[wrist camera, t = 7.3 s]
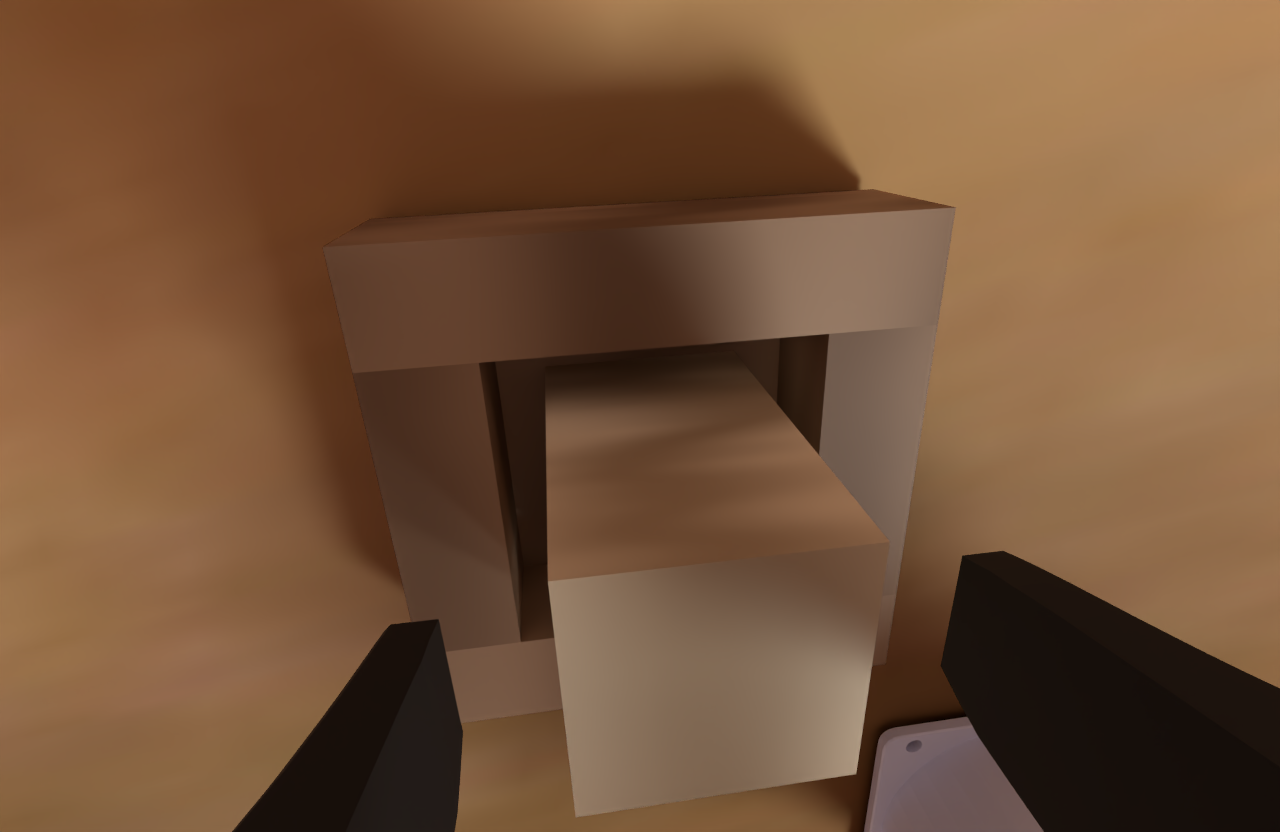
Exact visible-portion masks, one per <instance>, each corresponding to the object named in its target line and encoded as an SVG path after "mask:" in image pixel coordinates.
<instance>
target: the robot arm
mask: <svg viewBox="0 0 1280 832" xmlns="http://www.w3.org/2000/svg"><path fill="white" fill-rule="evenodd" d="M941 667H942V669H943V671H944V673H945V675H946V677H947V679H948V681H949V683H950V685H951V687H952V689H953V691H954V693H955V695H956V697H957V699H958V701H959V703H960V705H961V706H962V708H963V710H964V712H965V714H966V715H967V717H961V718H955V719H948V720H941V721H935V722H928V723H921V724H915V725H908V726H901V727H894V728H891V729H888V730H887V731H885V732H884V733H883V734H882V735H881V736H880V738H879V741H878V746H877V752H876V758H875V765H874V771H873V777H872V784H871V790H870V796H869V803H868V809H867V816H866V822H865V828H864V832H1280V688H1278V687H1275V686H1273V685H1271V684H1269V683H1267V682H1265V681H1263V680H1261V679H1258V678H1256V677H1254V676H1252V675H1250V674H1248V673H1246V672H1244V671H1241V670H1239V669H1237V668H1235V667H1233V666H1231V665H1229V664H1227V663H1225V662H1223V661H1221V660H1219V659H1217V658H1215V657H1213V656H1211V655H1209V654H1207V653H1205V652H1203V651H1201V650H1199V649H1197V648H1195V647H1193V646H1191V645H1189V644H1187V643H1185V642H1183V641H1181V640H1179V639H1177V638H1175V637H1173V636H1171V635H1169V634H1167V633H1165V632H1163V631H1161V630H1160V629H1158V628H1156V627H1154V626H1152V625H1150V624H1148V623H1146V622H1144V621H1142V620H1140V619H1138V618H1136V617H1134V616H1132V615H1130V614H1129V613H1127V612H1125V611H1123V610H1121V609H1119V608H1117V607H1115V606H1113V605H1111V604H1109V603H1107V602H1105V601H1104V600H1102V599H1100V598H1098V597H1096V596H1094V595H1092V594H1090V593H1088V592H1086V591H1084V590H1082V589H1080V588H1079V587H1077V586H1075V585H1073V584H1071V583H1069V582H1067V581H1065V580H1063V579H1061V578H1059V577H1057V576H1055V575H1053V574H1051V573H1049V572H1047V571H1045V570H1043V569H1041V568H1039V567H1037V566H1035V565H1033V564H1031V563H1029V562H1027V561H1025V560H1023V559H1020V558H1018V557H1016V556H1014V555H1011V554H1009V553H1007V552H1005V551H998V552H990V553H981V554H973V555H965V556H962V561H961V566H960V571H959V576H958V581H957V586H956V591H955V596H954V601H953V606H952V611H951V617H950V622H949V627H948V632H947V637H946V642H945V647H944V652H943V657H942V662H941ZM462 738H463V730H462V726H461V721H460V716H459V712H458V707H457V702H456V698H455V693H454V688H453V684H452V679H451V674H450V669H449V665H448V660H447V655H446V651H445V646H444V641H443V637H442V632H441V627H440V623H439V619H433V620H425V621H417V622H409V623H400V624H392V625H390V626H389V627H388V628H387V629H386V630H385V631H384V632H383V634H382V635H381V636H380V638H379V639H378V641H377V642H376V643H375V645H374V646H373V648H372V649H371V650H370V652H369V653H368V655H367V656H366V658H365V659H364V660H363V662H362V663H361V665H360V666H359V667H358V669H357V670H356V672H355V673H354V675H353V676H352V677H351V679H350V680H349V682H348V683H347V684H346V686H345V687H344V689H343V690H342V691H341V693H340V694H339V695H338V697H337V698H336V700H335V701H334V702H333V704H332V705H331V706H330V708H329V709H328V710H327V712H326V713H325V715H324V716H323V717H322V719H321V720H320V721H319V723H318V724H317V725H316V727H315V728H314V729H313V731H312V732H311V733H310V734H309V736H308V737H307V738H306V740H305V741H304V742H303V744H302V745H301V746H300V748H299V749H298V750H297V751H296V753H295V754H294V755H293V757H292V758H291V759H290V761H289V762H288V763H287V765H286V766H285V767H284V769H283V770H282V771H281V772H280V774H279V775H278V776H277V778H276V779H275V780H274V781H273V783H272V784H271V785H270V786H269V788H268V789H267V790H266V791H265V793H264V794H263V795H262V796H261V798H260V799H259V800H258V801H257V802H256V804H255V805H254V806H253V807H252V808H251V810H250V811H249V812H248V813H247V814H246V816H245V817H244V818H243V819H242V821H241V822H240V823H239V824H238V825H237V827H236V828H235V829H234V830H233V831H232V832H454V831H455V825H456V819H457V812H458V799H459V785H460V771H461V755H462Z"/></svg>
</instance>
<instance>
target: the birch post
mask: <svg viewBox="0 0 1280 832" xmlns="http://www.w3.org/2000/svg"><path fill="white" fill-rule="evenodd" d="M545 407H546V481H547V554H548V587H549V595H550V604H551V612H552V621H553V629H554V637H555V646H556V654H557V663H558V671H559V679H560V688H561V696H562V705H563V713H564V721H565V730H566V738H567V747H568V755H569V763H570V772H571V780H572V789H573V797H574V806H575V814H576V817H582V816H588V815H595V814H601V813H608V812H614V811H621V810H627V809H633V808H640V807H646V806H653V805H659V804H666V803H672V802H679V801H685V800H692V799H698V798H705V797H711V796H717V795H724V794H730V793H737V792H743V791H750V790H756V789H763V788H769V787H776V786H782V785H789V784H795V783H801V782H808V781H814V780H821V779H827V778H834V777H840V776H847V775H853V774H856V772H857V765H858V758H859V752H860V745H861V738H862V731H863V724H864V717H865V710H866V703H867V697H868V690H869V683H870V676H871V669H872V662H873V655H874V648H875V642H876V635H877V628H878V621H879V614H880V607H881V600H882V593H883V587H884V580H885V573H886V566H887V559H888V552H889V545H890V541H889V540H888V539H887V538H886V536H885V535H884V534H883V533H882V532H881V530H880V529H879V528H878V527H877V525H876V524H875V523H874V522H873V521H872V519H871V518H870V517H869V516H868V514H867V513H866V512H865V511H864V510H863V508H862V507H861V506H860V505H859V503H858V502H857V501H856V500H855V499H854V497H853V496H852V495H851V494H850V492H849V491H848V490H847V489H846V488H845V486H844V485H843V484H842V483H841V481H840V480H839V479H838V478H837V477H836V475H835V474H834V473H833V472H832V471H831V469H830V468H829V467H828V466H827V464H826V463H825V462H824V461H823V460H822V458H821V457H820V456H819V455H818V453H817V452H816V451H815V450H814V449H813V447H812V446H811V445H810V444H809V442H808V441H807V440H806V439H805V438H804V436H803V435H802V434H801V433H800V431H799V430H798V429H797V428H796V427H795V425H794V424H793V423H792V422H791V420H790V419H789V418H788V417H787V416H786V414H785V413H784V412H783V411H782V410H781V408H780V407H779V406H778V405H777V403H776V402H775V401H774V400H773V399H772V397H771V396H770V395H769V394H768V392H767V391H766V390H765V389H764V388H763V386H762V385H761V384H760V383H759V381H758V380H757V379H756V378H755V377H754V375H753V374H752V373H751V372H750V370H749V369H748V368H747V367H746V366H745V364H744V363H743V362H742V361H741V359H740V358H739V357H738V356H737V355H736V353H735V352H734V351H729V352H717V353H704V354H692V355H680V356H667V357H655V358H643V359H631V360H618V361H606V362H594V363H581V364H569V365H557V366H545Z"/></svg>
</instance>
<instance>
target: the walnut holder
mask: <svg viewBox="0 0 1280 832" xmlns="http://www.w3.org/2000/svg"><path fill="white" fill-rule="evenodd" d="M955 208H956V207H951V206H947V205H942V204H938V203H933V202H928V201H924V200H919V199H915V198H910V197H906V196H901V195H897V194H892V193H887V192H883V191H878V190H874V189H870V190H853V191H836V192H820V193H803V194H786V195H769V196H752V197H735V198H718V199H701V200H684V201H667V202H650V203H633V204H616V205H599V206H582V207H565V208H548V209H531V210H514V211H497V212H480V213H463V214H446V215H429V216H412V217H395V218H378V219H369V220H367V221H366V222H364V223H362V224H361V225H359V226H357V227H356V228H354V229H352V230H351V231H349V232H347V233H346V234H344V235H342V236H341V237H339V238H337V239H335V240H334V241H332V242H330V243H329V244H327V245H325V246H324V247H323V251H324V256H325V260H326V264H327V268H328V272H329V277H330V281H331V285H332V289H333V293H334V298H335V302H336V306H337V310H338V315H339V319H340V323H341V327H342V331H343V336H344V340H345V344H346V348H347V352H348V357H349V361H350V365H351V369H352V373H353V378H354V382H355V386H356V390H357V395H358V399H359V403H360V407H361V411H362V416H363V420H364V424H365V428H366V432H367V437H368V441H369V445H370V449H371V454H372V458H373V462H374V466H375V470H376V475H377V479H378V483H379V487H380V491H381V496H382V500H383V504H384V508H385V512H386V517H387V521H388V525H389V529H390V534H391V538H392V542H393V546H394V550H395V555H396V559H397V563H398V567H399V571H400V576H401V580H402V584H403V588H404V593H405V597H406V601H407V605H408V609H409V614H410V618H411V622H417V621H425V620H433V619H439V623H440V627H441V632H442V637H443V641H444V646H445V651H446V655H447V660H448V665H449V669H450V674H451V679H452V684H453V688H454V693H455V698H456V702H457V707H458V712H459V716H460V721H461V723H466V722H473V721H481V720H488V719H495V718H502V717H509V716H517V715H524V714H531V713H538V712H545V711H553V710H560V709H563V705H562V696H561V688H560V679H559V671H558V663H557V654H556V646H555V637H554V629H553V621H552V612H551V604H550V595H549V587H548V554H547V481H546V407H545V366H557V365H569V364H581V363H594V362H606V361H618V360H631V359H643V358H655V357H667V356H680V355H692V354H704V353H717V352H729V351H734V352H735V353H736V355H737V356H738V357H739V358H740V359H741V361H742V362H743V363H744V364H745V366H746V367H747V368H748V369H749V370H750V372H751V373H752V374H753V375H754V377H755V378H756V379H757V380H758V381H759V383H760V384H761V385H762V386H763V388H764V389H765V390H766V391H767V392H768V394H769V395H770V396H771V397H772V399H773V400H774V401H775V402H776V403H777V405H778V406H779V407H780V408H781V410H782V411H783V412H784V413H785V414H786V416H787V417H788V418H789V419H790V420H791V422H792V423H793V424H794V425H795V427H796V428H797V429H798V430H799V431H800V433H801V434H802V435H803V436H804V438H805V439H806V440H807V441H808V442H809V444H810V445H811V446H812V447H813V449H814V450H815V451H816V452H817V453H818V455H819V456H820V457H821V458H822V460H823V461H824V462H825V463H826V464H827V466H828V467H829V468H830V469H831V471H832V472H833V473H834V474H835V475H836V477H837V478H838V479H839V480H840V481H841V483H842V484H843V485H844V486H845V488H846V489H847V490H848V491H849V492H850V494H851V495H852V496H853V497H854V499H855V500H856V501H857V502H858V503H859V505H860V506H861V507H862V508H863V510H864V511H865V512H866V513H867V514H868V516H869V517H870V518H871V519H872V521H873V522H874V523H875V524H876V525H877V527H878V528H879V529H880V530H881V532H882V533H883V534H884V535H885V536H886V538H887V539H888V540H889V541H890V545H889V552H888V559H887V566H886V573H885V580H884V587H883V593H882V600H881V607H880V614H879V621H878V628H877V635H876V642H875V648H874V655H873V662H872V666H876V665H884V664H886V659H887V652H888V646H889V639H890V632H891V626H892V619H893V613H894V606H895V600H896V593H897V587H898V580H899V574H900V567H901V561H902V554H903V548H904V541H905V535H906V528H907V522H908V515H909V508H910V502H911V495H912V489H913V482H914V476H915V469H916V463H917V456H918V450H919V443H920V437H921V430H922V424H923V417H924V411H925V404H926V398H927V391H928V384H929V378H930V371H931V365H932V358H933V352H934V345H935V339H936V332H937V326H938V319H939V313H940V306H941V300H942V293H943V287H944V280H945V274H946V267H947V260H948V254H949V247H950V241H951V234H952V228H953V221H954V215H955Z"/></svg>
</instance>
